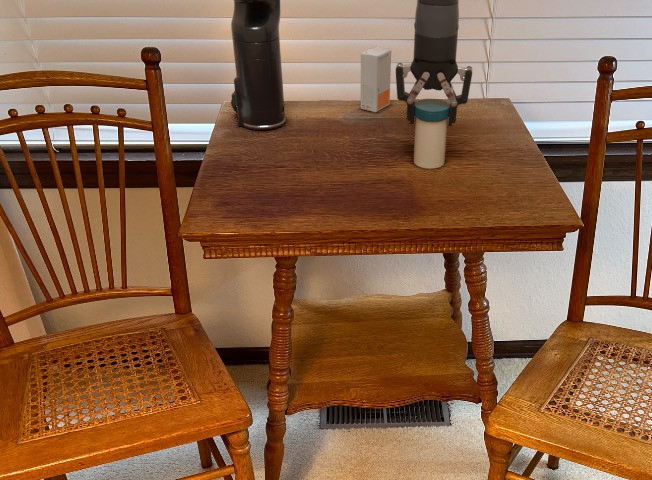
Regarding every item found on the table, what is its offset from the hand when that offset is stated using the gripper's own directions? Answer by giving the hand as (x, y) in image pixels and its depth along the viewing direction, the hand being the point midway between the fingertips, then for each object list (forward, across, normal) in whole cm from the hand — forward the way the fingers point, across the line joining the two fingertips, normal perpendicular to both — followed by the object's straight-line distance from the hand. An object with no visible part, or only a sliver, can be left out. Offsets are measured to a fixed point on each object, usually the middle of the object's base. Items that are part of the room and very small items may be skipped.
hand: (431, 123), depth 140 cm
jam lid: (-3, 0, 0) cm, 3 cm away
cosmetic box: (+8, +14, -27) cm, 32 cm away
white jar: (+8, 0, 0) cm, 8 cm away
